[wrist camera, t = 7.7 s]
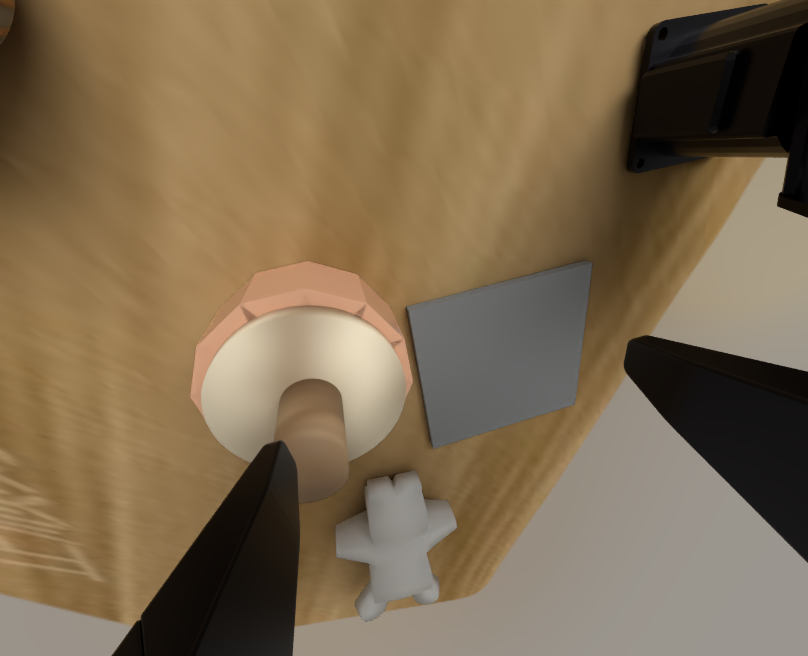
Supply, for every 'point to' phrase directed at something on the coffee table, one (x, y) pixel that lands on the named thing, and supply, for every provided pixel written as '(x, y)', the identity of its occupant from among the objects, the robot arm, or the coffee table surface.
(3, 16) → the vase
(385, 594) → the grey toy figurine
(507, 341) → the mat
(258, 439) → the lid
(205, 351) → the bowl
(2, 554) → the coffee table surface
